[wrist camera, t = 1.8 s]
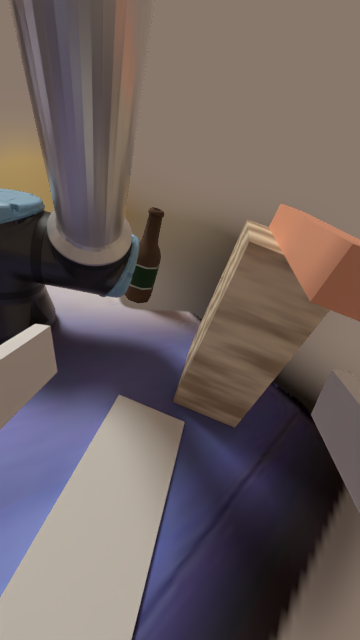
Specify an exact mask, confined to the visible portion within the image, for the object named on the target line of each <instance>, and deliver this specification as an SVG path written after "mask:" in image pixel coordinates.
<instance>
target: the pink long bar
mask: <svg viewBox="0 0 360 640" xmlns="http://www.w3.org/2000/svg"><path fill="white" fill-rule="evenodd" d="M269 229H270V231H271V232H272V234H273V236H274V238H275V240H276V241H277V243H278V245H279V247H280V249H281V250H282V252H283V254H284V256H285V258H286V259H287V261H288V263H289V265H290V267H291V268H292V270H293V272H294V274H295V276H296V277H297V279H298V281H299V283H300V284H301V286H302V288H303V290H304V292H305V293H306V295H307V297H308V299H309V301H310V302H312V303H314V304H317V305H319V306H322V307H324V308H327V309H329V310H332V311H335V312H337V313H340V314H342V315H345V316H347V317H350V318H352V319H355V320H358V321H360V240H359V239H357V238H355V237H353V236H351V235H349V234H347V233H345V232H343V231H341V230H339V229H337V228H335V227H333V226H331V225H329V224H327V223H325V222H323V221H321V220H319V219H317V218H315V217H313V216H311V215H309V214H307V213H305V212H302V211H300V210H297V209H294V208H292V207H289V206H287V205H284V204H280V206H279V208H278V211H277V212H276V214H275V216H274V218H273V220H272V222H271V224H270V226H269Z"/></svg>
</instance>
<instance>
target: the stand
mask: <svg viewBox="0 0 360 640" xmlns="http://www.w3.org/2000/svg"><path fill="white" fill-rule="evenodd" d="M329 311H330V310H329V309H327V308H324V307H322V306H319V305H317V304H314V303H312V302H310V301H309V299H308V297H307V295H306V293H305V292H304V290H303V288H302V286H301V284H300V283H299V281H298V279H297V277H296V276H295V274H294V272H293V270H292V268H291V267H290V265H289V263H288V261H287V259H286V258H285V256H284V254H283V252H282V250H281V249H280V247H279V245H278V243H277V241H276V240H275V238H274V236H273V234H272V232H271V231H270V229H269V227H266V226H263V225H261V224H258V223H256V222H253V221H250V220H247V221H246V223H245V225H244V228H243V230H242V232H241V234H240V236H239V239H238V241H237V243H236V245H235V248H234V250H233V252H232V254H231V257H230V259H229V261H228V263H227V266H226V268H225V270H224V272H223V274H222V277H221V279H220V281H219V283H218V286H217V288H216V290H215V293H214V295H213V297H212V299H211V301H210V304H209V306H208V308H207V310H206V312H205V315H204V317H203V319H202V321H201V324H200V326H199V328H198V330H197V333H196V335H195V337H194V339H193V341H192V344H191V347H190V350H189V353H188V356H187V359H186V362H185V365H184V369H183V372H182V375H181V378H180V381H179V384H178V387H177V390H176V393H175V397H174V400H173V402H174V403H176V404H179V405H181V406H184V407H186V408H188V409H191V410H193V411H196V412H198V413H200V414H203V415H205V416H208V417H210V418H212V419H215V420H217V421H220V422H222V423H224V424H227V425H229V426H232V427H234V428H235V427H236V426H237V424H238V423H239V422H240V421H241V420H242V418H243V417H244V416H245V415H246V413H247V412H248V411H249V410H250V408H251V407H252V406H253V405H254V403H255V402H256V401H257V400H258V399H259V397H260V396H261V395H262V394H263V392H264V391H265V390H266V389H267V387H268V386H269V385H270V384H271V382H272V381H273V380H274V379H275V377H276V376H277V375H278V374H279V372H280V371H281V370H282V369H283V367H284V366H285V365H286V364H287V363H288V361H289V360H290V359H291V358H292V356H293V355H294V354H295V353H296V351H297V350H298V349H299V348H300V347H301V345H302V344H303V343H304V342H305V340H306V339H307V338H308V337H309V335H310V334H311V333H312V332H313V331H314V329H315V328H316V327H317V326H318V324H319V323H320V322H321V320H322V319H323V318H324V317H325V316H326V314H327V313H328V312H329Z"/></svg>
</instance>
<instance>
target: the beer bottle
mask: <svg viewBox="0 0 360 640" xmlns="http://www.w3.org/2000/svg"><path fill="white" fill-rule="evenodd" d="M148 212H149V217H148V220H147V224H146V227H145V231H144V235H143V237H142V240H141V241H140V242H139V253H138V258H137V263H136V267H135V270H134V273H133V275H132V280H131V282H130V285H129V287H128V289H127V291H126V293H125V295H126V297H127V298H128V299H129V300H131V301H134V302H136V303H143V302H147V301H148V300H149V298H150V296H151V293H152V290H153V286H154V282H155V279H156V275H157V271H158V268H159V264H160V259H161V255H160V249H159V247H158V238H159V232H160V227H161V222H162V217H164V212H163V211H162V210H160V209H158V208H154V207H152V208H150V209H149V211H148Z"/></svg>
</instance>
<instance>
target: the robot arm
mask: <svg viewBox="0 0 360 640" xmlns="http://www.w3.org/2000/svg"><path fill="white" fill-rule="evenodd" d="M154 2H155V0H9V5H10V9H11V14H12V18H13V22H14V27H15V32H16V36H17V40H18V45H19V50H20V54H21V59H22V64H23V68H24V72H25V77H26V82H27V86H28V91H29V95H30V100H31V104H32V109H33V113H34V118H35V122H36V127H37V131H38V136H39V140H40V145H41V150H42V154H43V159H44V163H45V168H46V173H47V177H48V181H49V186H50V191H51V195H52V199H53V204H54V208H55V209H54V210H53V211H52V213H50V212H46V211H44V208H45V205H44V204H43V201H42V200H41V199H40V198H39V197H37V196H34V195H33V194H29V193H26V192H21V191H15V190H8V189H0V429H1V428H2V427H3V426H4V425H5V424H6V423H7V422H8V421H9V420H10V419H11V418H12V417H13V416H14V415H15V414H16V413H17V412H18V411H19V410H20V409H21V408H22V407H23V406H24V405H25V404H26V403H27V402H28V401H29V400H30V399H31V398H32V397H33V396H34V395H35V394H36V393H37V392H38V391H39V390H40V389H41V388H42V387H43V386H44V385H45V384H46V383H47V382H48V381H49V380H50V379H51V378H52V377H53V376H54V375H55V374H56V373H57V366H56V359H55V353H54V346H53V340H52V333H51V329H52V328H53V326H54V324H55V307H54V305H53V303H52V301H51V298H50V296H49V294H48V292H47V289H46V287H45V284H46V285H51V286H56V287H62V288H67V289H72V290H77V291H82V292H87V293H92V294H97V295H100V296H102V297H106V296H109V297H121V296H123V295H124V294H125V293H126V291H127V289H128V287H129V285H130V282H131V280H132V275H133V273H134V270H135V267H136V263H137V258H138V253H139V239H138V238H137V237H136V236H134V235H133V234H132V232H131V228H130V225H129V224H128V221H127V220H126V218H125V211H126V203H127V196H128V189H129V182H130V175H131V168H132V161H133V153H134V146H135V139H136V131H137V125H138V117H139V110H140V103H141V96H142V88H143V81H144V74H145V67H146V60H147V53H148V45H149V38H150V31H151V24H152V17H153V9H154ZM311 416H312V418H313V420H314V422H315V424H316V426H317V428H318V430H319V432H320V434H321V436H322V438H323V440H324V442H325V445H326V447H327V449H328V451H329V453H330V455H331V457H332V459H333V461H334V463H335V465H336V467H337V469H338V471H339V473H340V475H341V477H342V479H343V481H344V483H345V485H346V487H347V489H348V491H349V494H350V496H351V498H352V500H353V502H354V504H355V506H356V507H357V510H358V512H359V514H360V383H359V382H358V380H357V379H356V378H355V377H354V376H353V375H352V373H351V372H349V371H341V370H335V369H332V370H331V372H330V374H329V376H328V378H327V381H326V383H325V385H324V387H323V389H322V392H321V394H320V396H319V398H318V400H317V402H316V405H315V407H314V409H313V411H312V413H311Z"/></svg>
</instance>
